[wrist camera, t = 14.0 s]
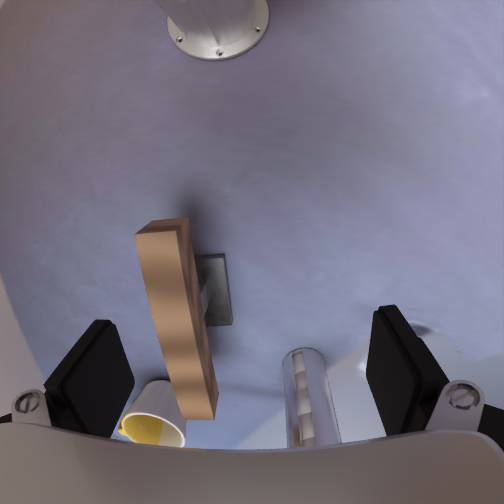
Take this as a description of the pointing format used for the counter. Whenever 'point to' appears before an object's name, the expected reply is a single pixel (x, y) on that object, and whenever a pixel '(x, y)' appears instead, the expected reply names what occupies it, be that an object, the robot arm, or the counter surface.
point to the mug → (155, 417)
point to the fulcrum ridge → (214, 289)
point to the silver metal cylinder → (308, 401)
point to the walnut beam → (178, 314)
